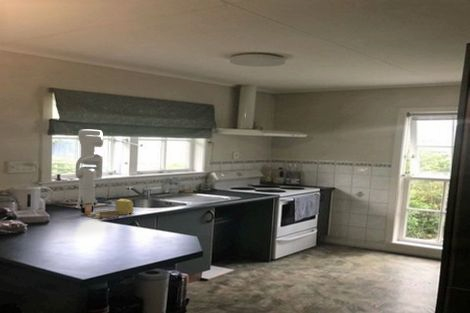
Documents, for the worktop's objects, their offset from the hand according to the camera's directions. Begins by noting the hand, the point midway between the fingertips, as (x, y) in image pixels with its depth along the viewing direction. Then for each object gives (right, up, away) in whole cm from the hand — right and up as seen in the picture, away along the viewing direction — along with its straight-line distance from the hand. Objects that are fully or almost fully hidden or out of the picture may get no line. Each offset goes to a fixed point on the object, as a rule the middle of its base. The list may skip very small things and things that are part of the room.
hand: (87, 212), depth 321 cm
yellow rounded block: (+23, -3, +14) cm, 27 cm away
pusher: (+12, -2, -3) cm, 12 cm away
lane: (+12, -2, -4) cm, 13 cm away
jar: (0, -2, 0) cm, 2 cm away
